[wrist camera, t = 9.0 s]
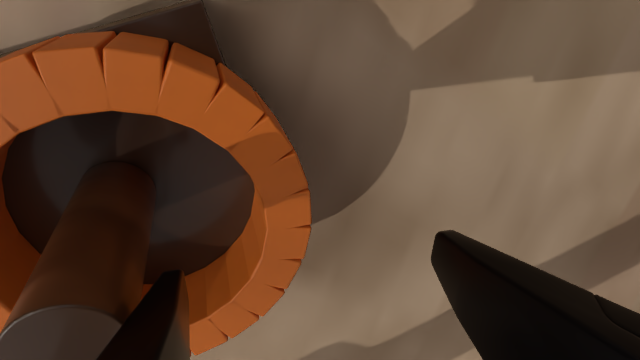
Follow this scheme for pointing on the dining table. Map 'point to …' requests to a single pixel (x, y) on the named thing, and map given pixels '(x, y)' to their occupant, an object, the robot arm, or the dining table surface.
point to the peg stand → (116, 208)
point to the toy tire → (189, 110)
